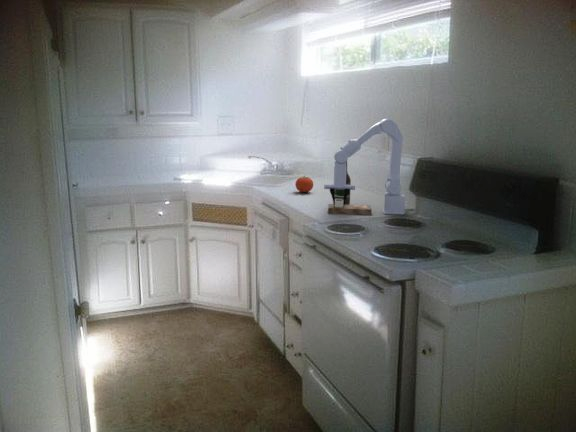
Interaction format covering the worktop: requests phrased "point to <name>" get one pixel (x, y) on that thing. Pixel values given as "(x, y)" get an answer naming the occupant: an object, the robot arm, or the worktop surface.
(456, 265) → the worktop surface
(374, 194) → the worktop surface
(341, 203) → the plug
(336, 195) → the beer bottle
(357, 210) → the brown wooden flat block
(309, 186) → the tomato
